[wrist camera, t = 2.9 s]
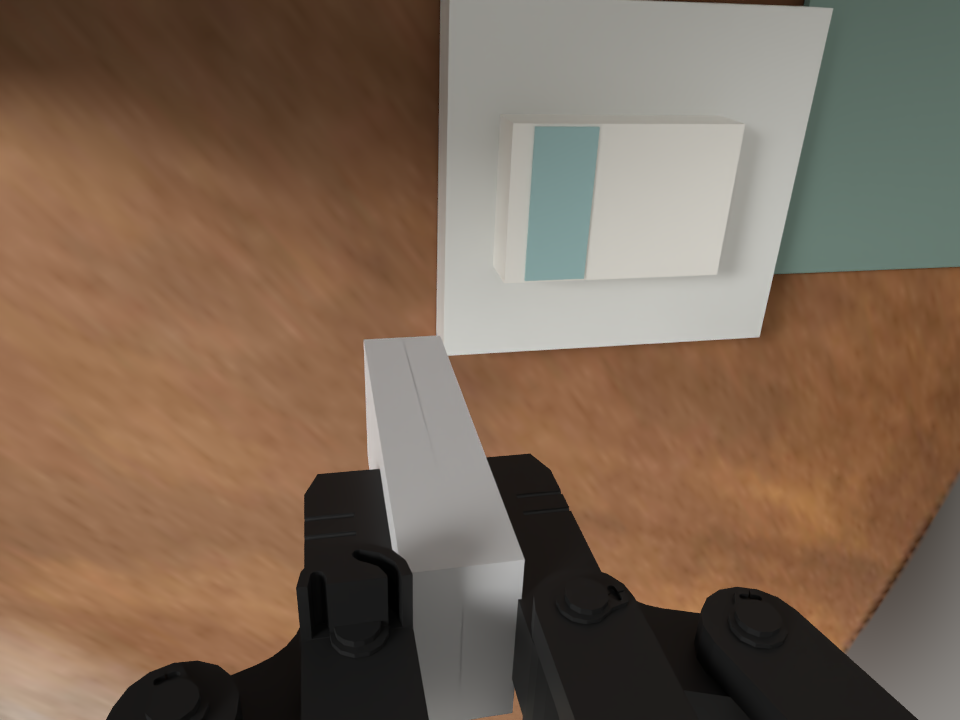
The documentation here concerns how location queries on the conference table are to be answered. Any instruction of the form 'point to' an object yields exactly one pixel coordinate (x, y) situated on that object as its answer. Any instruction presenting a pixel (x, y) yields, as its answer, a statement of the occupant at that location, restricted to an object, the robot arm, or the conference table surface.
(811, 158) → the mat
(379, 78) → the conference table surface
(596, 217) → the card
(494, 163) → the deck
